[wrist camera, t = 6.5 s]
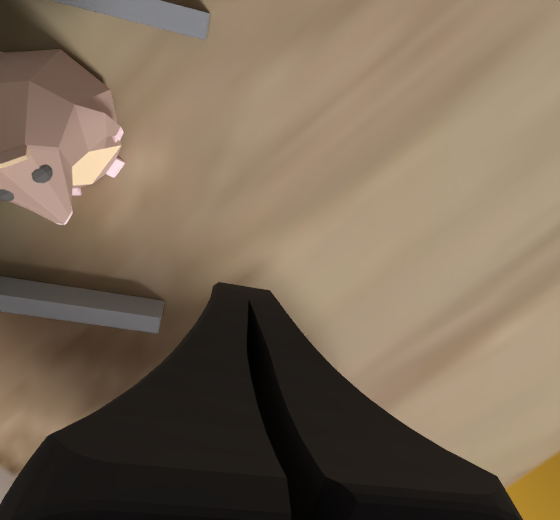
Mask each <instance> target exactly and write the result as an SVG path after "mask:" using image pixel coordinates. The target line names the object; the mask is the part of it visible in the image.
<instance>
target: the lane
mask: <svg viewBox="0 0 560 520" xmlns="http://www.w3.org/2000/svg"><path fill="white" fill-rule="evenodd" d="M51 1H55V2H59V3H63V4H67V5H71V6H75V7H78V8H82V9H86V10H90V11H94V12H98V13H102V14H106V15H110V16H114V17H118V18H121V19H125V20H129V21H133V22H137V23H141V24H145V25H149V26H153V27H157V28H160V29H164V30H168V31H172V32H176V33H180V34H184V35H188V36H192V37H196V38H200V39H203V40H206V39H207V34H208V28H209V22H210V15H211V14H210V13H206V12H202V11H198V10H195V9H191V8H187V7H183V6H180V5H176V4H172V3H169V2H165V1H161V0H51ZM163 307H164V301H162V300H156V299H149V298H143V297H136V296H129V295H123V294H116V293H110V292H103V291H96V290H90V289H83V288H77V287H70V286H63V285H57V284H50V283H44V282H37V281H30V280H24V279H17V278H11V277H4V276H0V312H7V313H14V314H21V315H29V316H36V317H43V318H50V319H57V320H65V321H72V322H79V323H86V324H93V325H101V326H108V327H115V328H122V329H129V330H137V331H144V332H151V333H158V332H159V327H160V323H161V318H162V313H163Z"/></svg>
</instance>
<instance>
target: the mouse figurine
mask: <svg viewBox="0 0 560 520" xmlns="http://www.w3.org/2000/svg"><path fill="white" fill-rule="evenodd" d="M123 133H124V132H123V130H122V128H121V127H120V126H119V125H118V124H117V119H116V114H115V109H114V104H113V99H112V94H111V89H109V88H108V87H107V86H106V85H104V84H103V83H102V82H101V81H99V80H98V79H97V78H96V77H94V76H93V75H92V74H91V73H89V72H88V71H87V70H86V69H84V68H83V67H82V66H81V65H79V64H78V63H77V62H76V61H74V60H73V59H72V58H71V57H69V56H68V55H67V54H66V53H64V52H63V51H62V50H61V49H54V50H37V51H21V52H5V53H3V52H0V200H1V201H9V202H11V203H14V204H16V205H18V206H21V207H23V208H26V209H28V210H30V211H33V212H35V213H37V214H39V215H41V216H43V217H45V218H47V219H49V220H51V221H53V222H55V223H56V224H59V225H65V224H66V223H67V222H68V220H69V219H70V217H71V215H72V214H73V212H72V206H71V202H72V195H81V194H82V193H81V188H80V187H84V186H87V185H91V184H93V183H94V182H95V181H97V180H98V179H99V178H101V177H102V176H103V175H105V174H107V175H109V176H111V177H114V178H115V176H116V175H117V174H118V172H119V171H120V169H121V168H122V167H123V165H124V164H125V163H126V162H125V161H123V160H122V159H120V158H119V157H118V153H119V151H120V148H121V145H122V144H121V137H122V135H123Z"/></svg>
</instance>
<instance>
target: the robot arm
mask: <svg viewBox="0 0 560 520" xmlns="http://www.w3.org/2000/svg"><path fill="white" fill-rule="evenodd" d="M0 520H523V519H522V517H521V516H520V514H519V512H518V511H517V509H516V507H515V505H514V504H513V502H512V500H511V499H510V497H509V495H508V494H507V492H506V490H505V488H504V487H503V485H502V483H501V482H500V480H499V479H498V477H497V476H495V475H493V474H492V473H490V472H488V471H486V470H484V469H482V468H480V467H478V466H476V465H474V464H472V463H470V462H468V461H467V460H465V459H463V458H461V457H459V456H457V455H455V454H453V453H451V452H449V451H447V450H445V449H444V448H442V447H440V446H439V445H437V444H435V443H434V442H432V441H430V440H429V439H427V438H425V437H424V436H422V435H421V434H419V433H417V432H416V431H414V430H412V429H411V428H409V427H408V426H406V425H405V424H403V423H402V422H400V421H399V420H397V419H396V418H394V417H393V416H392V415H390V414H389V413H388V412H386V411H385V410H384V409H382V408H381V407H380V406H378V405H377V404H376V403H374V402H373V401H371V400H370V399H369V398H368V397H366V396H365V395H364V394H363V393H361V392H360V391H359V390H358V389H357V388H356V387H355V386H353V385H352V384H351V383H350V382H349V381H348V380H347V379H346V378H344V377H343V376H342V375H341V374H340V373H339V372H338V371H337V370H336V369H335V368H334V367H333V366H332V365H331V364H330V363H329V362H328V361H327V360H326V359H325V358H324V357H323V356H322V355H321V354H320V353H319V352H318V351H317V349H316V348H315V347H314V346H313V345H312V344H311V343H310V342H309V340H308V339H307V338H306V337H305V336H304V334H303V333H302V332H301V331H300V330H299V328H298V327H297V326H296V324H295V323H294V322H293V321H292V319H291V318H290V317H289V315H288V314H287V313H286V311H285V310H284V309H283V307H282V306H281V305H280V303H279V302H278V301H277V299H276V298H275V297H274V295H273V294H272V293H271V291H270V290H263V289H257V288H251V287H245V286H239V285H233V284H226V283H220V282H219V283H217V284H215V285H214V286H213V289H212V294H211V298H210V300H209V302H208V304H207V306H206V308H205V310H204V311H203V313H202V314H201V316H200V317H199V319H198V321H197V322H196V324H195V325H194V326H193V328H192V329H191V330H190V331H189V333H188V334H187V335H186V337H185V338H184V339H183V340H182V342H181V343H180V344H179V345H178V346H177V347H176V348H175V349H174V351H173V352H172V353H171V354H170V355H169V356H168V357H167V358H166V359H165V360H164V361H163V362H162V363H161V364H160V365H158V366H157V367H156V368H155V369H154V370H153V371H152V372H150V373H149V374H148V375H147V376H146V377H144V378H143V379H142V380H141V381H140V382H138V383H137V384H136V385H134V386H133V387H132V388H130V389H129V390H128V391H126V392H125V393H123V394H122V395H120V396H119V397H117V398H116V399H114V400H113V401H111V402H110V403H108V404H107V405H105V406H104V407H102V408H101V409H99V410H97V411H96V412H94V413H92V414H90V415H89V416H87V417H85V418H83V419H81V420H79V421H77V422H75V423H73V424H71V425H69V426H67V427H65V428H63V429H61V430H59V431H56V432H54V433H52V434H50V435H49V436H47V437H46V439H45V440H44V441H43V442H42V444H41V445H40V446H39V448H38V449H37V450H36V451H35V453H34V454H33V455H32V457H31V458H30V459H29V461H28V462H27V463H26V465H25V466H24V468H23V469H22V471H21V472H20V473H19V475H18V476H17V478H16V479H15V481H14V483H13V484H12V486H11V487H10V489H9V491H8V492H7V494H6V495H5V497H4V499H3V500H2V502H1V504H0Z"/></svg>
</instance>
